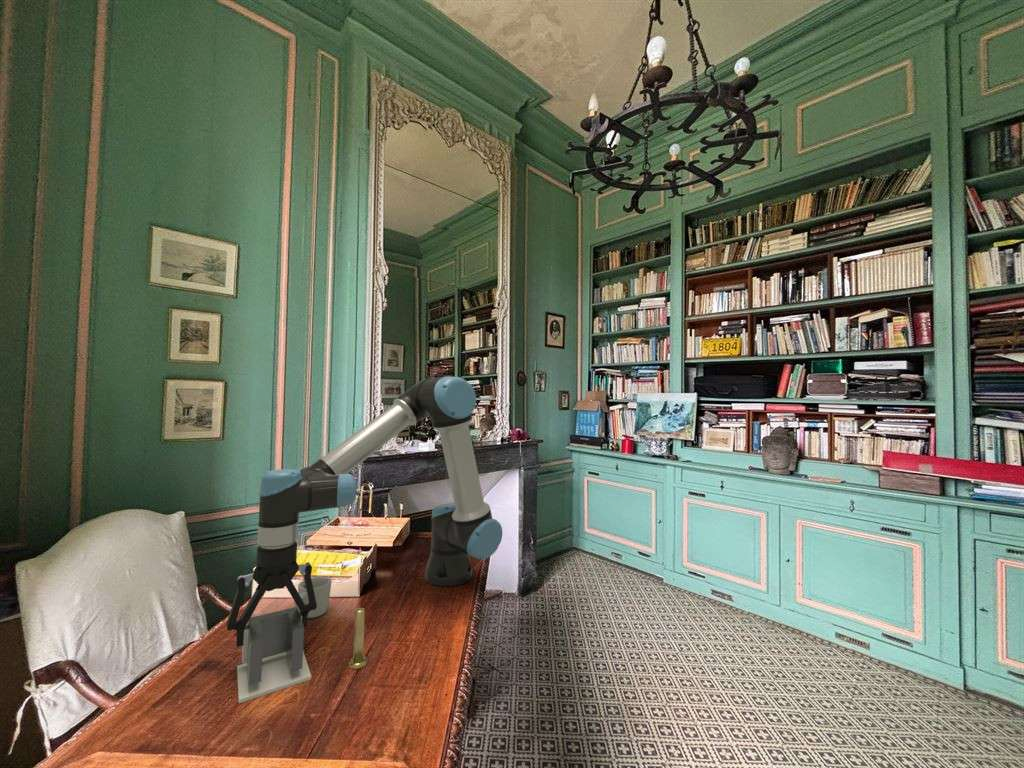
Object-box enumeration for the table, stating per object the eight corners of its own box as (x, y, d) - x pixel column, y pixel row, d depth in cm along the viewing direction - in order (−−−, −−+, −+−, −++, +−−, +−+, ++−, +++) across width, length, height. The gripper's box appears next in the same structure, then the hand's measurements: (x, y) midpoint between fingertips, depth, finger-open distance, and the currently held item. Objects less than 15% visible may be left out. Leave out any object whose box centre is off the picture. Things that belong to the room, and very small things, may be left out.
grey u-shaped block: (295, 644, 89) (296, 606, 90) (302, 668, 81) (304, 627, 82) (246, 658, 84) (248, 618, 85) (248, 685, 76) (250, 640, 77)
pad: (301, 649, 91) (302, 646, 91) (311, 679, 81) (311, 676, 81) (237, 668, 84) (237, 665, 84) (238, 703, 74) (238, 700, 74)
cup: (309, 629, 99) (310, 595, 100) (281, 625, 101) (282, 591, 102) (336, 608, 110) (338, 577, 111) (310, 604, 112) (312, 574, 112)
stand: (364, 656, 89) (366, 604, 90) (369, 665, 86) (370, 611, 87) (346, 662, 87) (349, 608, 87) (351, 671, 84) (353, 616, 85)
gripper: (328, 531, 97) (324, 629, 95) (215, 547, 84) (208, 660, 83) (335, 539, 91) (330, 644, 89) (214, 558, 78) (206, 681, 77)
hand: (271, 652), depth 86 cm, fingers closed on grey u-shaped block, 9 cm apart
